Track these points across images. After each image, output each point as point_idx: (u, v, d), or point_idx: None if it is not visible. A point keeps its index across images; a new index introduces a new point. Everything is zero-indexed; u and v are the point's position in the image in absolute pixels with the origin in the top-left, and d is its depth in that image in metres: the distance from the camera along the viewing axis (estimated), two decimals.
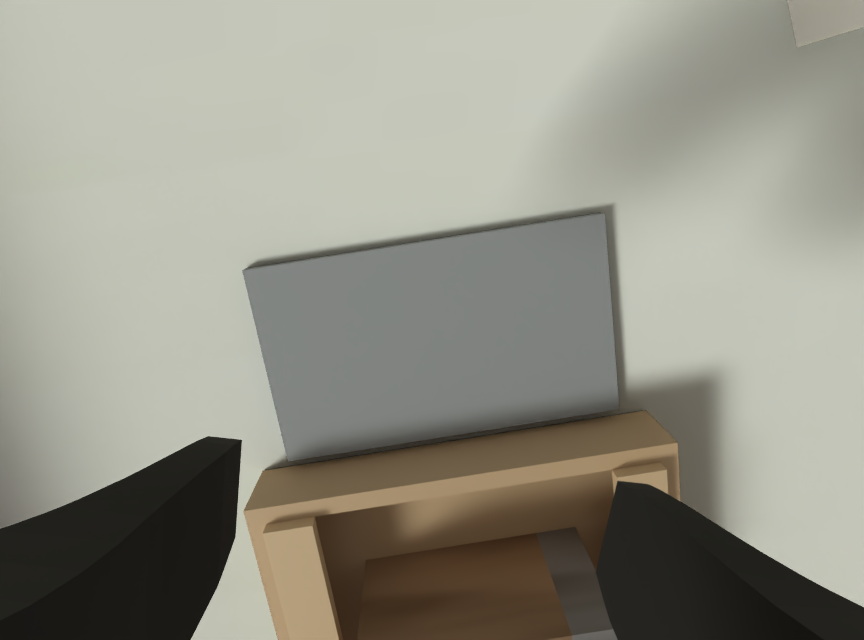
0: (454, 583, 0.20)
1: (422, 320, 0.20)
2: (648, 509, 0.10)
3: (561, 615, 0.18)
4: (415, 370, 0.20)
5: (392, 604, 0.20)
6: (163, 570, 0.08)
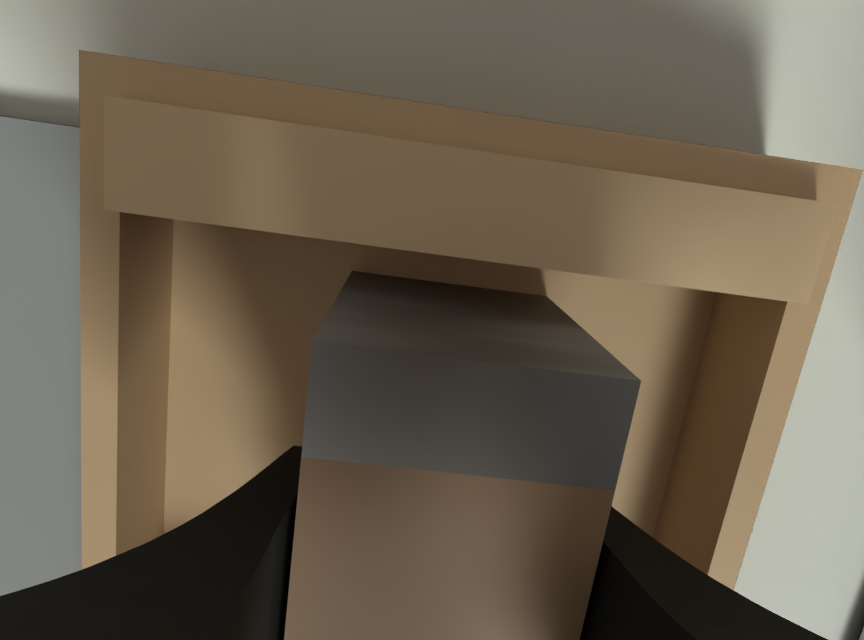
0: None
1: None
2: None
3: None
4: None
5: None
6: (279, 580, 0.08)
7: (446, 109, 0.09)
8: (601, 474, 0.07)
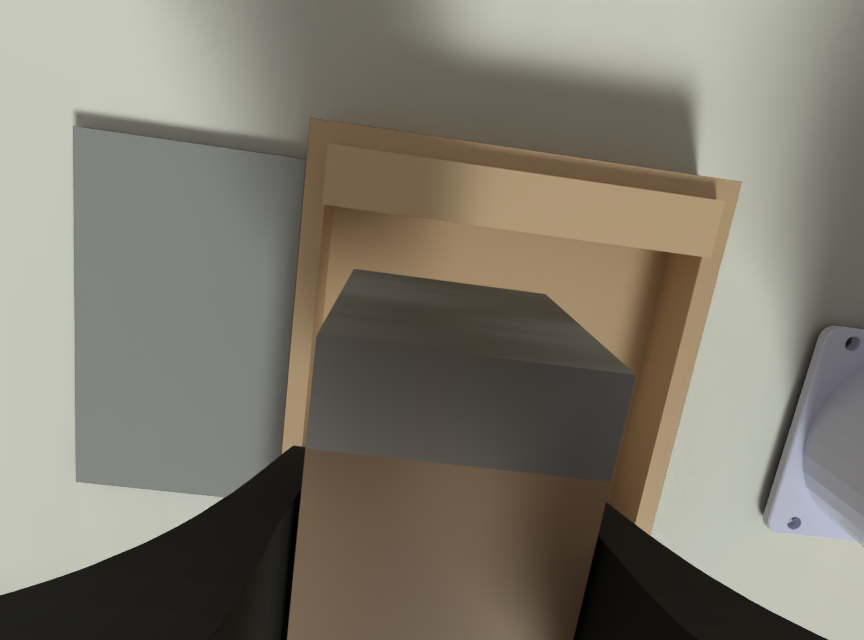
0: None
1: (156, 340, 0.19)
2: None
3: None
4: (208, 361, 0.20)
5: None
6: (278, 580, 0.08)
7: (507, 149, 0.16)
8: (597, 465, 0.08)
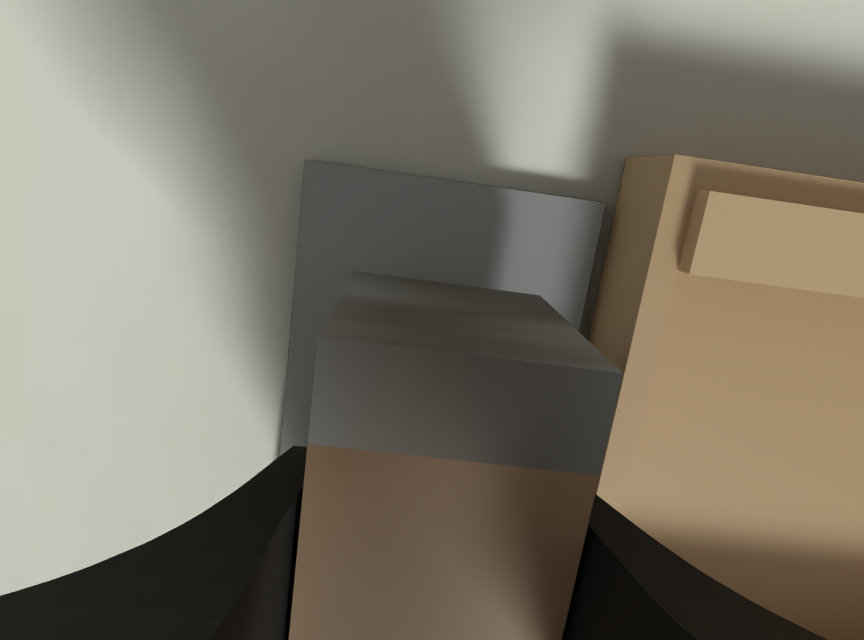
0: None
1: None
2: None
3: None
4: None
5: None
6: (279, 581, 0.08)
7: None
8: (586, 460, 0.08)
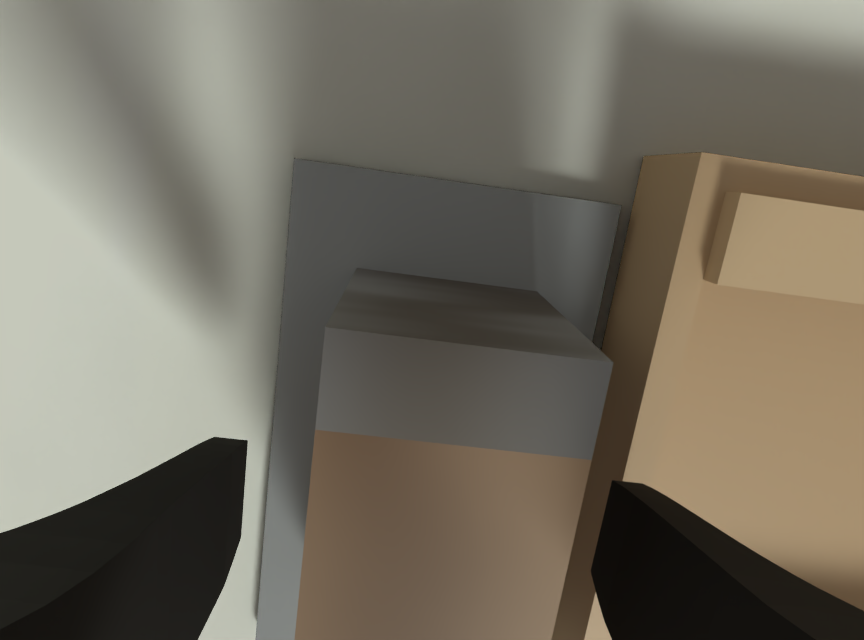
0: None
1: None
2: (642, 508, 0.10)
3: None
4: None
5: None
6: (171, 571, 0.08)
7: None
8: (579, 445, 0.08)
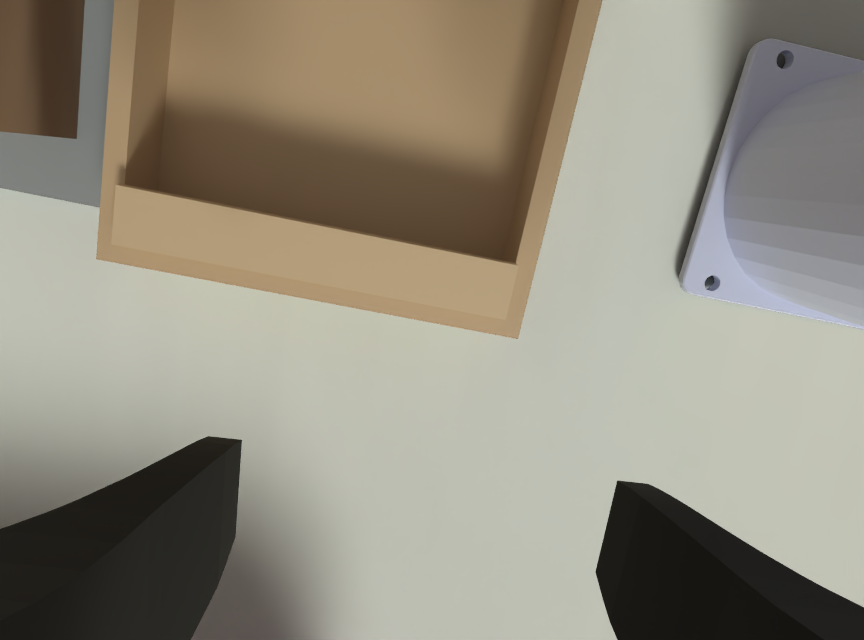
0: None
1: None
2: (648, 509, 0.10)
3: None
4: None
5: None
6: (163, 570, 0.08)
7: None
8: None
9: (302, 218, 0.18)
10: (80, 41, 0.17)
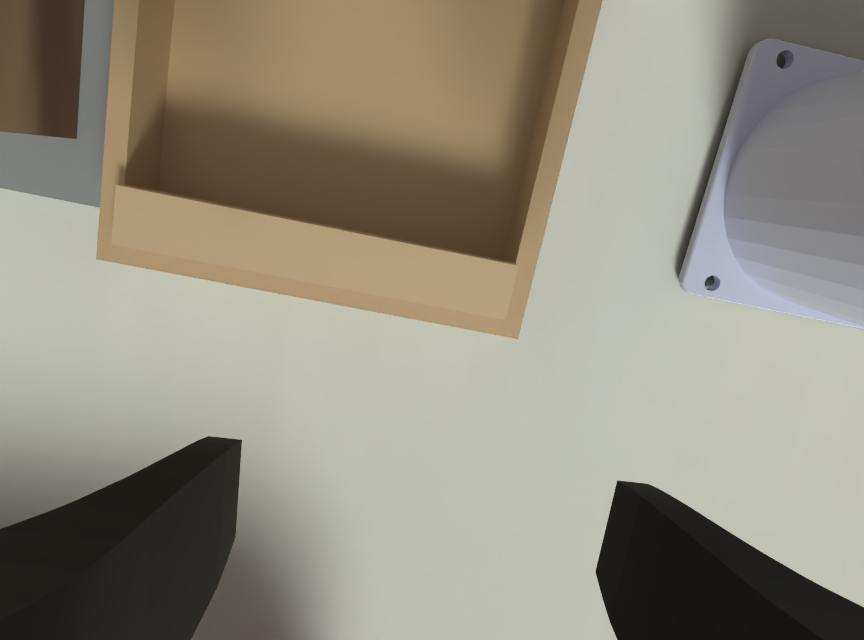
0: None
1: None
2: (648, 509, 0.10)
3: None
4: None
5: None
6: (163, 570, 0.08)
7: None
8: None
9: (302, 218, 0.18)
10: (80, 41, 0.17)
